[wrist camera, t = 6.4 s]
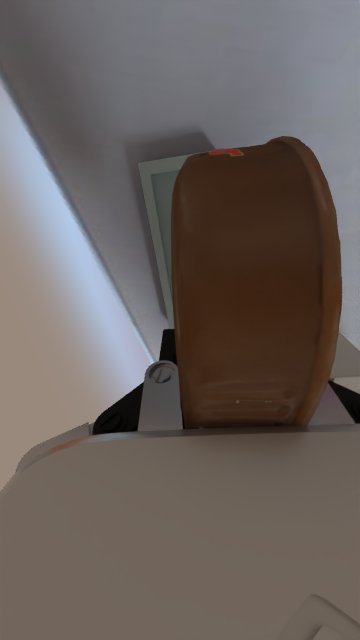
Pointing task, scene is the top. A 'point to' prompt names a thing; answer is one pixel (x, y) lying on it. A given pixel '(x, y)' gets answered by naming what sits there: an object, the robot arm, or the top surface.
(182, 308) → the tin
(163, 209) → the tray
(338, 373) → the skincare box
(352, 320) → the top surface
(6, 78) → the top surface
